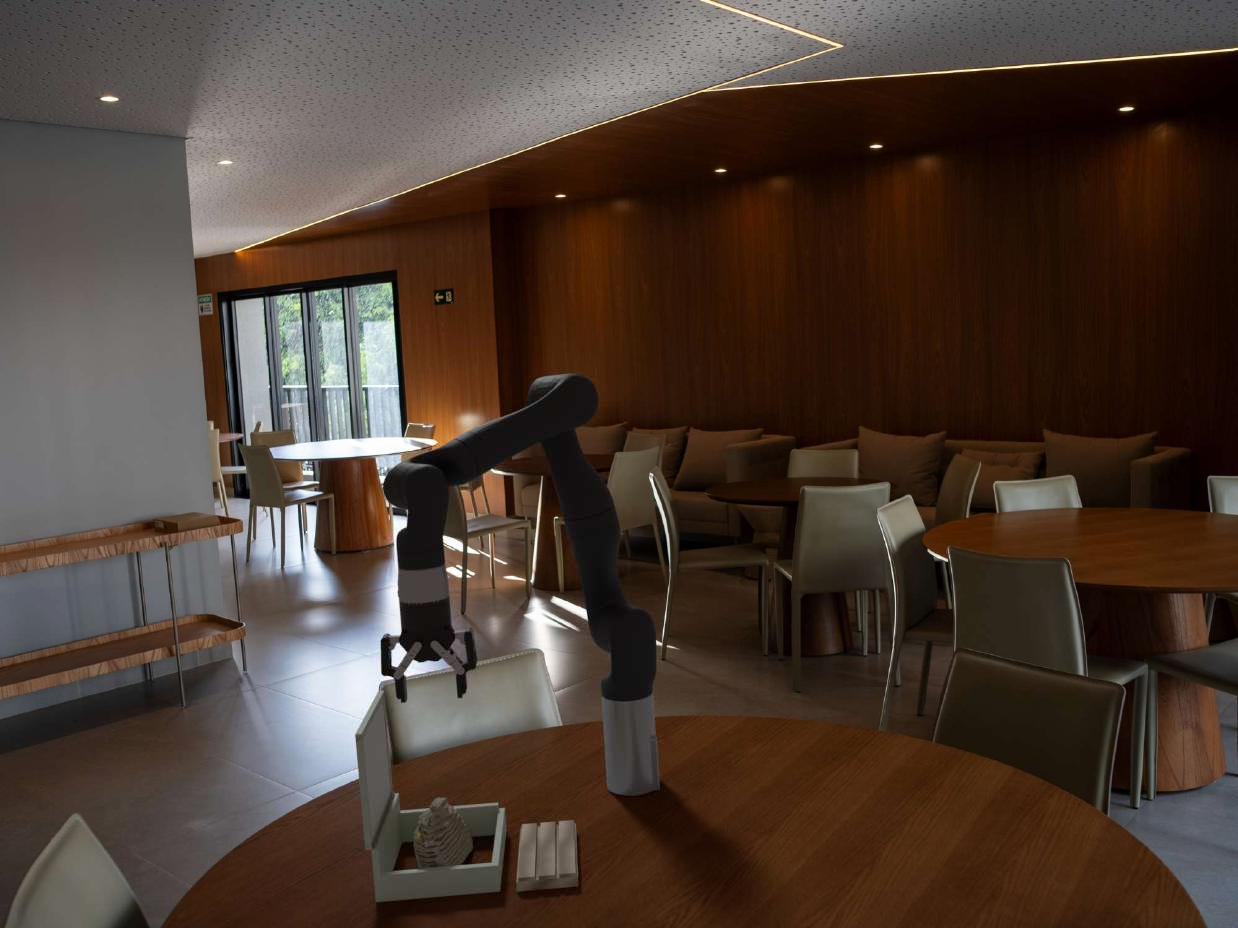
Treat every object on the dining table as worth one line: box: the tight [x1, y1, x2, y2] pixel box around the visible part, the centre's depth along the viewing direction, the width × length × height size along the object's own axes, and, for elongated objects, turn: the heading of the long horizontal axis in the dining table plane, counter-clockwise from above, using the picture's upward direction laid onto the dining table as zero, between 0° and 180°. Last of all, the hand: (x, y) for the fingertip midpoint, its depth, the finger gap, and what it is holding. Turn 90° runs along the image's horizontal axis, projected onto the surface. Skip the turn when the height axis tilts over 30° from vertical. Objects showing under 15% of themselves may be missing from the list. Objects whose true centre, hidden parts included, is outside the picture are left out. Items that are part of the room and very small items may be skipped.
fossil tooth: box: [413, 796, 474, 869], centre depth 155 cm, size 12×6×15 cm
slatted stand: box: [516, 819, 580, 892], centre depth 155 cm, size 9×17×2 cm, turn 3°
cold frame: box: [354, 690, 507, 903], centre depth 154 cm, size 19×19×25 cm
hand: (432, 698), depth 153 cm, fingers open, 8 cm apart
